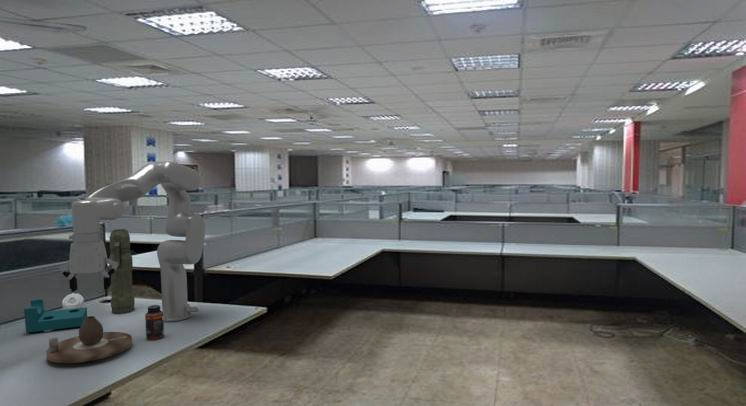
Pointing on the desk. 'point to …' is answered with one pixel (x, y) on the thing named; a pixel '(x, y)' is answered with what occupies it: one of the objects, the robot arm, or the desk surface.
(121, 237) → the thermos
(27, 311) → the teal l-shaped bracket
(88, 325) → the vase
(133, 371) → the desk surface
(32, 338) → the desk surface
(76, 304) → the motion sensor
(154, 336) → the supplement bottle
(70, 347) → the disc
